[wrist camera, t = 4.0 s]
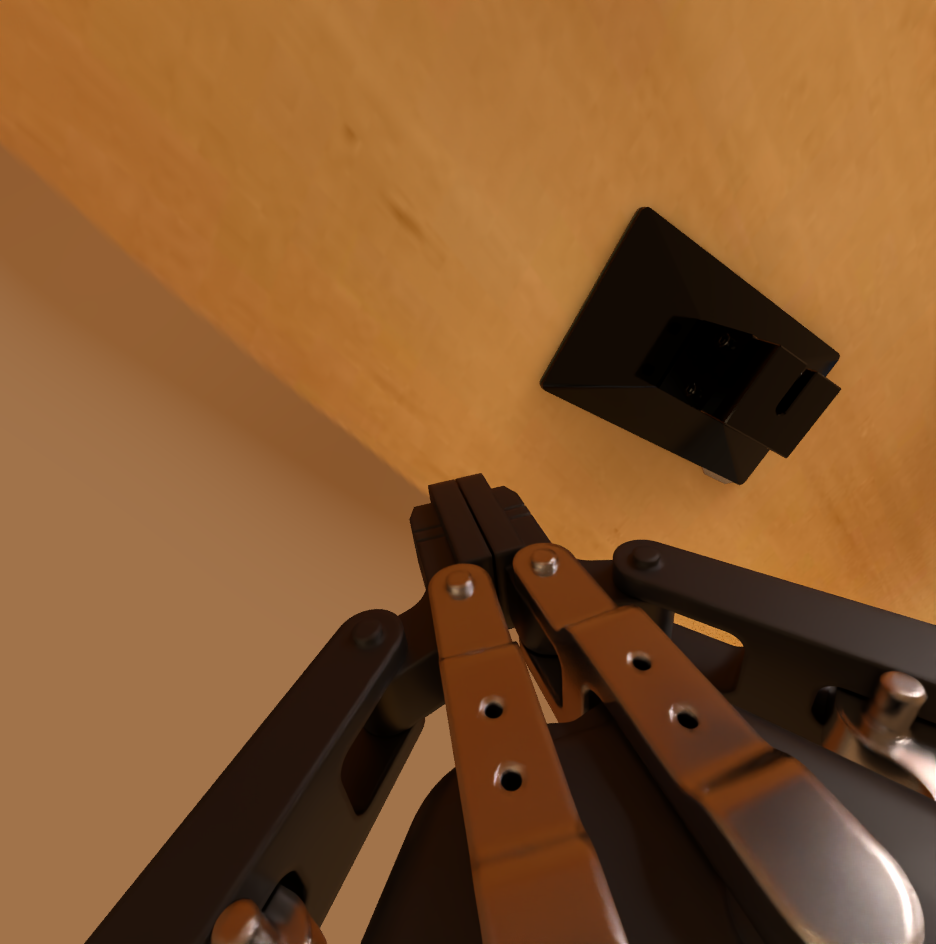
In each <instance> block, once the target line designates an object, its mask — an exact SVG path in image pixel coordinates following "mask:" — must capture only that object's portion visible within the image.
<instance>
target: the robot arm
mask: <svg viewBox="0 0 936 944" xmlns="http://www.w3.org/2000/svg"><path fill="white" fill-rule="evenodd" d="M428 489H429V495H430V501H431V503H429V504H425V505H421V506H416V507H414V509H413V511H412V514H411V517H410V524H411V529H412V534H413V539H414V544H415V548H416V553H417V558H418V563H419V566H420V570H421V573H422V577H423V581H424V585H425V588H426V591H425V593H424V595H423V597H422V599H421V600H420V601H419V602H418V603H417V604H416V605H415V606H413V607H412V608H411V609H409V610H407V611H406V612H404V613H402V614H400V615H399V616H397V615H396V614H394V613H393V612H390V611H388V610H383V609H374V610H368V611H364V612H361V613H358V614H356V615H354V616H353V617H351V618H349V619H348V620H347V621H346V622H345V623H343V625H341V627H340V628H339V629H338V630H337V632H336V633H335V634H334V635H333V636H332V638H331V639H330V640H329V641H328V643H327V644H326V645H325V646H324V648H323V649H322V650H321V651H320V652H319V654H318V655H317V656H316V657H315V659H314V660H313V661H312V662H311V664H310V665H309V666H308V667H307V669H306V670H305V671H304V672H303V674H302V675H301V676H300V677H299V679H298V680H297V681H296V682H295V683H294V685H293V686H292V687H291V688H290V690H289V691H288V692H287V693H286V695H285V696H284V697H283V698H282V699H281V701H280V702H279V703H278V704H277V706H276V707H275V708H274V710H273V711H272V712H271V713H270V714H269V716H268V717H267V718H266V719H265V721H264V722H263V723H262V724H261V725H260V727H259V728H258V729H257V730H256V732H255V733H254V734H253V735H252V737H251V738H250V739H249V740H248V742H247V743H246V744H245V745H244V746H243V748H242V749H241V750H240V752H239V753H238V754H237V755H236V756H235V758H234V759H233V760H232V761H231V763H230V764H229V765H228V766H227V768H226V769H225V770H224V771H223V772H222V774H221V775H220V776H219V778H218V779H217V780H216V781H215V783H214V784H213V785H212V786H211V788H210V789H209V790H208V791H207V792H206V794H205V795H204V796H203V797H202V799H201V800H200V801H199V802H198V803H197V805H196V806H195V807H194V808H193V810H192V811H191V812H190V813H189V815H188V816H187V817H186V818H185V819H184V821H183V822H182V823H181V824H180V826H179V827H178V828H177V829H176V831H175V832H174V833H173V834H172V836H171V837H170V838H169V839H168V841H167V842H166V843H165V844H164V845H163V847H162V848H161V849H160V850H159V852H158V853H157V854H156V855H155V857H154V858H153V859H152V860H151V862H150V863H149V864H148V865H147V867H146V868H145V869H144V870H143V871H142V873H141V874H140V875H139V877H138V878H137V879H136V880H135V881H134V883H133V884H132V885H131V886H130V888H129V889H128V890H127V891H126V892H125V894H124V895H123V896H122V898H121V899H120V900H119V901H118V902H117V904H116V905H115V906H114V907H113V909H112V910H111V911H110V912H109V914H108V915H107V916H106V917H105V918H104V920H103V921H102V922H101V923H100V925H99V926H98V927H97V928H96V930H95V931H94V932H93V933H92V935H91V936H90V937H89V938H88V940H87V941H86V942H85V943H84V944H327V942H326V939H325V937H324V935H323V933H322V931H321V930H320V927H321V925H322V923H323V921H324V919H325V917H326V915H327V913H328V911H329V909H330V907H331V906H332V904H333V902H334V900H335V898H336V896H337V894H338V892H339V890H340V888H341V886H342V884H343V882H344V880H345V878H346V876H347V874H348V873H349V871H350V869H351V867H352V865H353V863H354V861H355V859H356V857H357V855H358V853H359V851H360V849H361V847H362V845H363V844H364V842H365V840H366V838H367V836H368V834H369V832H370V830H371V828H372V826H373V824H374V822H375V821H376V819H377V817H378V815H379V813H380V811H381V809H382V807H383V805H384V803H385V801H386V799H387V797H388V795H389V793H390V791H391V789H392V788H393V786H394V784H395V782H396V780H397V778H398V776H399V774H400V772H401V770H402V768H403V766H404V764H405V763H406V761H407V759H408V757H409V755H410V753H411V751H412V749H413V747H414V745H415V743H416V741H417V739H418V737H419V735H420V734H421V731H422V729H423V727H424V723H425V717H426V716H428V715H429V714H431V713H432V712H434V711H435V710H437V709H438V708H440V707H441V706H442V705H444V704H445V705H446V711H447V717H448V723H449V729H450V736H451V741H452V748H453V755H454V761H455V768H453V769H452V770H451V771H450V772H449V773H447V774H446V775H445V776H444V777H443V778H442V779H441V780H440V781H439V782H438V783H437V784H436V785H435V787H434V788H433V789H432V790H431V791H430V793H429V794H428V796H427V797H426V798H425V800H424V801H423V803H422V805H421V806H420V808H419V810H418V812H417V813H416V815H415V817H414V819H413V821H412V824H411V826H410V828H409V831H408V833H407V835H406V838H405V840H404V842H403V845H402V847H401V849H400V852H399V854H398V857H397V859H396V861H395V864H394V866H393V868H392V871H391V873H390V875H389V878H388V880H387V882H386V885H385V887H384V889H383V892H382V894H381V897H380V899H379V901H378V904H377V906H376V908H375V911H374V913H373V915H372V918H371V920H370V923H369V925H368V927H367V929H366V932H365V934H364V937H363V939H362V941H361V944H936V625H933V624H930V623H926V622H923V621H920V620H916V619H913V618H910V617H906V616H903V615H900V614H896V613H893V612H890V611H886V610H883V609H880V608H876V607H873V606H870V605H866V604H863V603H859V602H856V601H853V600H849V599H846V598H843V597H839V596H836V595H833V594H829V593H826V592H823V591H819V590H816V589H813V588H809V587H806V586H803V585H799V584H796V583H793V582H789V581H786V580H783V579H779V578H776V577H773V576H769V575H766V574H763V573H759V572H756V571H752V570H749V569H746V568H742V567H739V566H736V565H732V564H729V563H726V562H722V561H719V560H716V559H712V558H709V557H706V556H702V555H699V554H696V553H692V552H689V551H686V550H682V549H679V548H676V547H672V546H669V545H666V544H662V543H659V542H655V541H650V540H633V541H628V542H625V543H623V544H621V545H620V546H618V547H617V548H616V550H615V551H614V554H613V560H593V561H590V560H579V559H576V558H575V557H574V555H573V554H572V553H571V552H570V551H569V550H567V549H566V548H564V547H562V546H560V545H557V544H552V543H551V542H550V540H549V539H548V537H547V536H546V535H545V533H544V532H543V530H542V529H541V527H540V526H539V524H538V523H537V522H536V520H535V519H534V517H533V516H532V515H531V514H530V511H529V510H528V509H527V507H526V506H525V505H524V503H523V501H522V500H521V498H520V497H519V495H518V494H517V493H516V492H514V491H512V490H510V489H508V488H507V487H505V486H501V487H496V488H492V489H491V488H490V486H489V484H488V483H487V481H486V479H485V478H484V476H483V475H482V473H479V474H475V475H470V476H466V477H462V478H457V479H456V480H454V479H453V480H449V481H445V482H440V483H436V484H432V485H428ZM675 613H677V614H680V615H683V616H685V617H688V618H691V619H693V620H696V621H699V622H701V623H704V624H707V625H709V626H712V627H715V628H718V629H720V630H723V631H726V632H728V633H730V634H732V635H734V636H735V637H737V638H738V639H739V640H740V641H741V643H742V644H743V646H744V647H737V646H733V645H730V644H727V643H725V642H722V641H719V640H717V639H714V638H711V637H709V636H706V635H704V634H701V633H698V632H696V631H693V630H691V629H688V628H685V627H683V626H680V625H678V624H675V623H673V622H674V614H675ZM512 628H515V629H516V631H517V633H518V635H519V642H520V647H519V645H518V643H517V642H516V641H515V642H512V639H511V636H510V633H509V631H508V629H512ZM526 664H527V666H528V668H529V670H530V672H531V673H532V675H533V677H534V679H535V680H536V682H537V684H538V686H539V688H540V690H541V691H542V693H543V695H544V697H545V699H546V700H547V702H548V704H549V706H550V707H551V709H552V711H553V713H554V715H555V717H556V718H557V720H558V723H549V724H547V723H546V720H545V718H544V715H543V712H542V709H541V706H540V703H539V701H538V697H537V695H536V692H535V689H534V686H533V683H532V680H531V677H530V675H529V672H528V669H527V666H526Z"/></svg>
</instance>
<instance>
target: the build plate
mask: <svg viewBox="0 0 936 944" xmlns="http://www.w3.org/2000/svg"><path fill="white" fill-rule="evenodd" d="M839 357H840V355H839V353H838V352H836V351H835V350H834V349H832V348H831V347H830V346H828V345H827V344H826V343H825V342H823V341H822V340H821V339H819V338H818V337H817V336H816V335H814V334H813V333H812V332H810V331H809V330H808V329H806V328H805V327H804V326H803V325H801V324H800V323H799V322H797V321H796V320H795V319H794V318H792V317H791V316H790V315H788V314H787V313H786V312H784V311H783V310H782V309H781V308H779V307H778V306H777V305H775V304H774V303H773V302H772V301H770V300H769V299H768V298H766V297H765V296H764V295H762V294H761V293H760V292H759V291H757V290H756V289H755V288H753V287H752V286H751V285H750V284H748V283H747V282H746V281H744V280H743V279H742V278H740V277H739V276H738V275H737V274H735V273H734V272H733V271H731V270H730V269H729V268H728V267H726V266H725V265H724V264H722V263H721V262H720V261H718V260H717V259H716V258H715V257H713V256H712V255H711V254H709V253H708V252H707V251H706V250H704V249H703V248H702V247H700V246H699V245H698V244H696V243H695V242H694V241H693V240H691V239H690V238H689V237H687V236H686V235H685V234H684V233H682V232H681V231H680V230H678V229H677V228H676V227H674V226H673V225H672V224H671V223H669V222H668V221H667V220H665V219H664V218H663V217H662V216H660V215H659V214H658V213H656V212H655V211H654V210H652V209H651V208H650V207H640V208H639V209H637V211H636V212H635V214H634V216H633V217H632V219H631V221H630V223H629V224H628V226H627V228H626V230H625V232H624V233H623V235H622V237H621V239H620V240H619V242H618V244H617V246H616V247H615V249H614V251H613V253H612V254H611V256H610V258H609V260H608V262H607V263H606V265H605V267H604V269H603V270H602V272H601V274H600V276H599V277H598V279H597V281H596V283H595V284H594V286H593V288H592V290H591V291H590V293H589V295H588V297H587V299H586V300H585V302H584V304H583V306H582V307H581V309H580V311H579V313H578V314H577V316H576V318H575V320H574V321H573V323H572V325H571V327H570V329H569V330H568V332H567V334H566V336H565V337H564V339H563V341H562V343H561V344H560V346H559V348H558V350H557V351H556V353H555V355H554V357H553V358H552V360H551V362H550V364H549V366H548V367H547V369H546V371H545V373H544V374H543V376H542V378H541V380H540V387H541V388H542V389H544V390H545V391H547V392H549V393H551V394H553V395H555V396H557V397H559V398H561V399H563V400H565V401H567V402H569V403H571V404H574V405H576V406H578V407H580V408H582V409H584V410H586V411H588V412H590V413H592V414H594V415H596V416H598V417H600V418H602V419H604V420H606V421H608V422H611V423H613V424H615V425H617V426H619V427H621V428H623V429H625V430H627V431H629V432H631V433H633V434H635V435H637V436H639V437H641V438H643V439H645V440H648V441H650V442H652V443H654V444H656V445H658V446H660V447H662V448H664V449H666V450H668V451H670V452H672V453H674V454H676V455H678V456H680V457H682V458H684V459H687V460H689V461H691V462H693V463H695V464H697V465H699V466H701V467H702V469H703V472H704V474H706V475H708V476H710V477H712V478H714V479H716V480H718V481H720V482H722V483H724V484H727V483H732V482H734V483H736V484H738V485H741V484H743V483H744V482H745V481H746V480H747V479H748V477H749V476H750V475H751V473H752V472H753V471H754V469H755V468H756V467H757V466H758V464H759V463H760V462H761V460H762V459H763V458H764V456H765V455H766V454H767V453H768V451H769V450H771V451H773V452H775V453H777V454H779V455H780V456H782V457H784V458H788V456H789V455H790V454H791V452H792V451H793V450H794V449H795V447H796V446H797V445H798V444H799V442H800V441H801V440H802V439H803V437H804V436H805V435H806V433H807V432H808V431H809V430H810V428H811V427H812V426H813V425H814V423H815V422H816V421H817V419H818V418H819V417H820V416H821V414H822V413H823V412H824V411H825V409H826V408H827V407H828V405H829V404H830V403H831V402H832V400H833V399H834V398H835V397H836V395H837V394H838V393H839V391H840V390H841V388H840V387H839V386H837V385H836V384H834V383H833V382H832V381H830V380H829V379H827V378H826V376H827V374H828V373H829V372H830V371H831V369H832V368H833V367H834V365H835V364H836V363H837V361H838V360H839Z"/></svg>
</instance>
